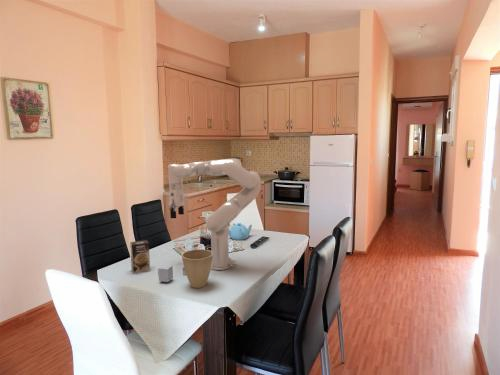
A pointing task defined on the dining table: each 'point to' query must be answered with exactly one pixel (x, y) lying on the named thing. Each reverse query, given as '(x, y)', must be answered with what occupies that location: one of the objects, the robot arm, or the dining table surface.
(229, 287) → the dining table surface
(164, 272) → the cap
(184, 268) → the short post
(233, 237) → the teapot
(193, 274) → the plant pot
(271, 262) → the dining table surface
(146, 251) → the coffee box
